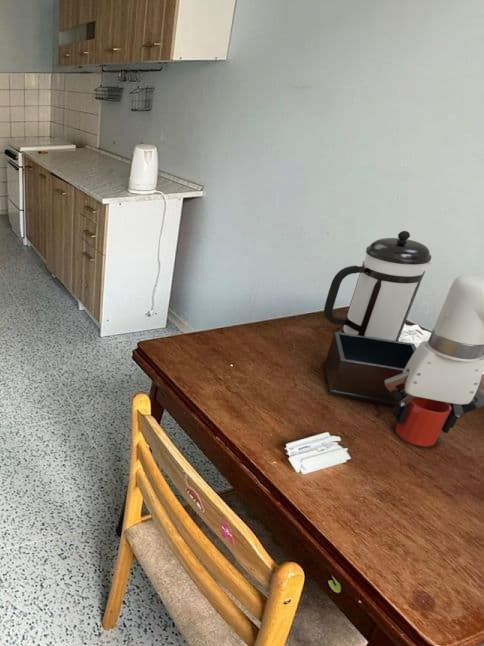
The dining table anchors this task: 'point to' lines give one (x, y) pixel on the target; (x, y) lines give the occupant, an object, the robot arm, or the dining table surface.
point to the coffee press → (382, 288)
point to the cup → (423, 421)
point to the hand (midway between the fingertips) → (420, 423)
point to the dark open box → (365, 366)
